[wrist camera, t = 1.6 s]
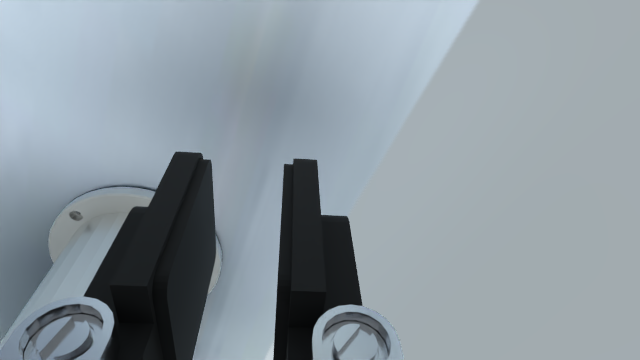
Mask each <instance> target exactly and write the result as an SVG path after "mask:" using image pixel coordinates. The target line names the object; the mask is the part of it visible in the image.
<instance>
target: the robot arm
mask: <svg viewBox="0 0 640 360" xmlns="http://www.w3.org/2000/svg"><path fill="white" fill-rule="evenodd" d="M48 247H49V254H50V257H51V259H52V262H53V266H52V267H51V269H50V270H49V272H48V273H47V274H46V276H45V277H44V279H43V280H42V282H41V283H40V285H39V286H38V288H37V289H36V291H35V292H34V294H33V295H32V297H31V298H30V299H29V301H28V302H27V304H26V305H25V307H24V308H23V310H22V311H21V313H20V314H19V316H18V317H17V319H16V320H15V322H14V323H13V324H12V326H11V327H10V329H9V330H8V332H7V333H6V335H5V336H4V338H3V339H2V341H1V342H0V360H192V358H193V354H194V349H195V345H196V341H197V337H198V332H199V328H200V324H201V319H202V315H203V311H204V307H205V302H206V298H207V296H208V295H209V294H210V293H211V291H212V290H213V288H214V287H215V285H216V284H217V281H218V278H219V275H220V271H221V265H222V251H221V247H220V244H219V241H218V238H217V236H216V235H215V217H214V199H213V181H212V164H211V160H204V159H203V156H202V154H201V153H191V152H175V154H174V156H173V158H172V160H171V162H170V164H169V166H168V168H167V170H166V172H165V174H164V176H163V178H162V180H161V182H160V184H159V186H158V188H157V190H156V192H155V191H151V190H146V189H141V188H133V187H112V188H103V189H99V190H95V191H91V192H88V193H86V194H84V195H82V196H80V197H78V198H76V199H74V200H73V201H72V202H71V203H69V204H68V205H67V206H66V207H65V208H64V209H63V210H62V212H61V213H60V214H59V215H58V217H57V218H56V219H55V221H54V223H53V225H52V227H51V229H50V232H49V238H48ZM273 360H404V356H403V352H402V348H401V344H400V340H399V338H398V335H397V333H396V331H395V329H394V327H393V326H392V325H391V324H390V322H389V321H388V320H387V319H386V318H385V317H383V316H382V315H381V314H379V313H378V312H376V311H374V310H372V309H369V308H367V307H364V306H362V300H361V294H360V287H359V281H358V275H357V269H356V262H355V256H354V249H353V243H352V237H351V230H350V224H349V219H348V217H347V216H331V215H321V209H320V195H319V181H318V167H317V160H310V159H294V161H293V165H291V164H284V178H283V196H282V214H281V232H280V250H279V268H278V286H277V304H276V322H275V341H274V359H273Z"/></svg>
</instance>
